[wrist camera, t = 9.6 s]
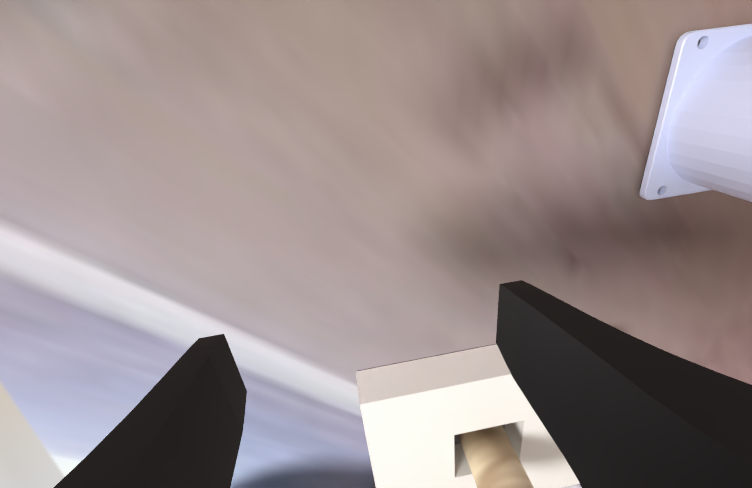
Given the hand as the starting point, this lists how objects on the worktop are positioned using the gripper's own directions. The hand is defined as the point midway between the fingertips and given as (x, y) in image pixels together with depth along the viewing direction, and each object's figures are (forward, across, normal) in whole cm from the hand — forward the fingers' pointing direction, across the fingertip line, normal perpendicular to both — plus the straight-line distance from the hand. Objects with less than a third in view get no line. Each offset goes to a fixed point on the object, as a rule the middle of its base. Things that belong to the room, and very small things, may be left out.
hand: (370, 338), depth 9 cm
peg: (+9, -7, +18) cm, 21 cm away
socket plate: (+9, -7, +18) cm, 21 cm away
